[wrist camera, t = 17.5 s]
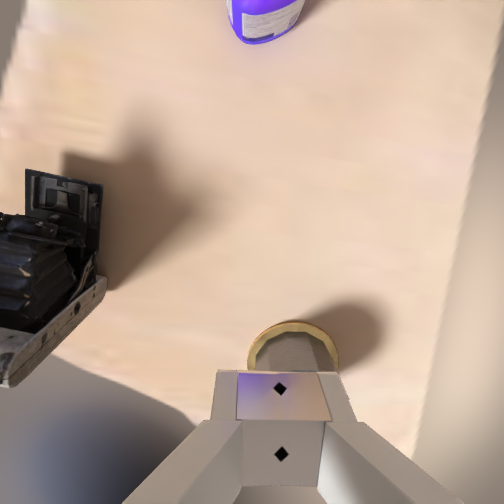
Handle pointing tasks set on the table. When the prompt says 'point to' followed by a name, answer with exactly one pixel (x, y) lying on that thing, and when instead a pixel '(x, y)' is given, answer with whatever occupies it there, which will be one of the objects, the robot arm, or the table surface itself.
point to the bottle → (262, 18)
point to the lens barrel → (293, 350)
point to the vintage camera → (47, 270)
